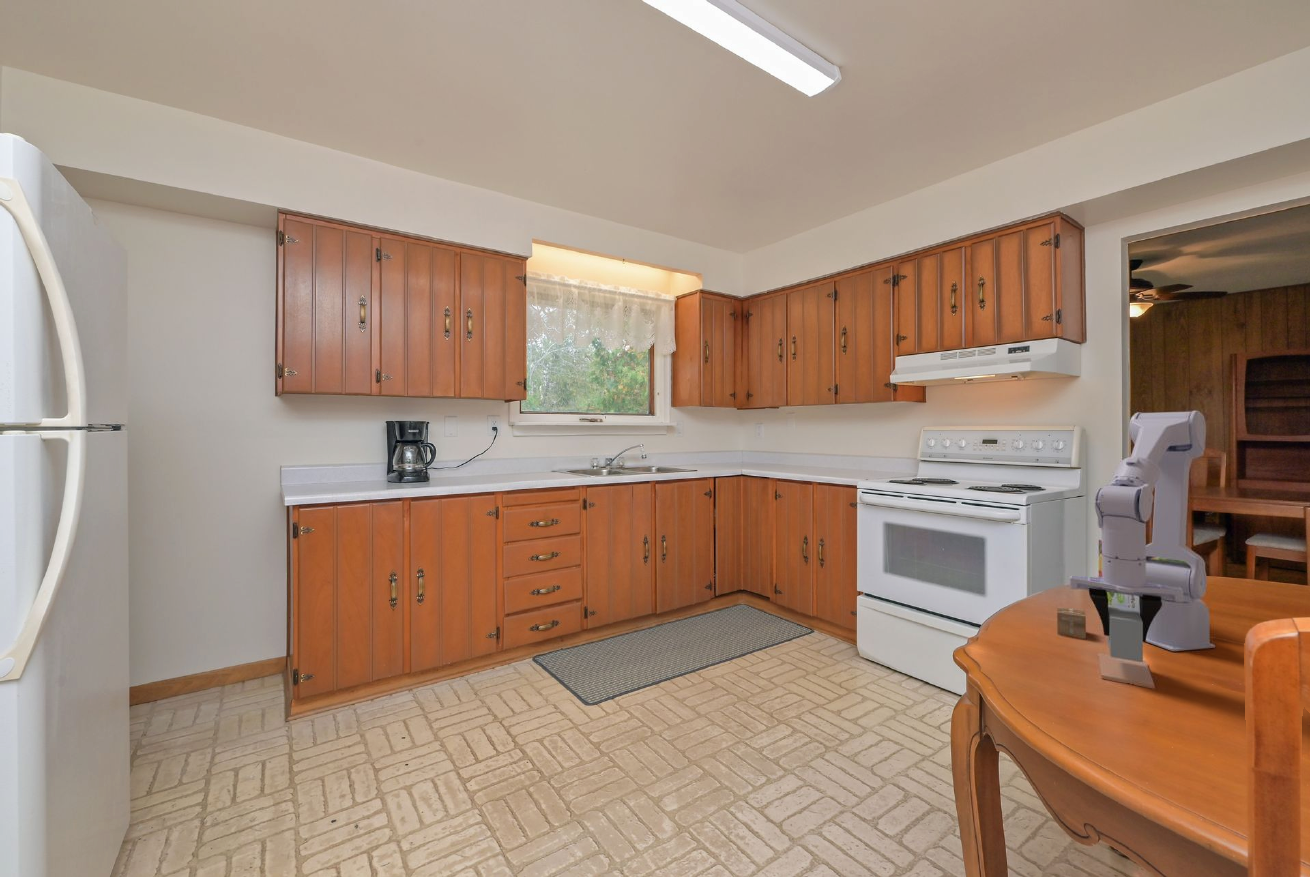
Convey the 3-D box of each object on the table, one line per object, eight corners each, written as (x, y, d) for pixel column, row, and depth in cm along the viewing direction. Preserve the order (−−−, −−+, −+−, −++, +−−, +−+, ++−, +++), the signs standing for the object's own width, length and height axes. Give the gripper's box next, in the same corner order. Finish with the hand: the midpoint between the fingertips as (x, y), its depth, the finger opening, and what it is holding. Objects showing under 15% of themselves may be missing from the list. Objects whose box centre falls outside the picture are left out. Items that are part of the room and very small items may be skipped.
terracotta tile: (1098, 656, 100) (1098, 652, 100) (1145, 664, 97) (1145, 660, 97) (1101, 678, 92) (1101, 674, 92) (1154, 688, 88) (1154, 684, 88)
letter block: (1057, 627, 115) (1057, 605, 115) (1085, 632, 112) (1084, 609, 112) (1057, 634, 111) (1057, 611, 111) (1085, 639, 109) (1085, 616, 109)
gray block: (1110, 656, 92) (1110, 617, 92) (1107, 641, 98) (1107, 604, 98) (1142, 662, 89) (1142, 622, 89) (1137, 646, 96) (1137, 608, 96)
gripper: (1070, 556, 95) (1070, 635, 95) (1186, 567, 86) (1187, 653, 86) (1069, 548, 101) (1070, 623, 101) (1178, 558, 92) (1179, 639, 92)
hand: (1124, 636), depth 94 cm, fingers closed on gray block, 4 cm apart
